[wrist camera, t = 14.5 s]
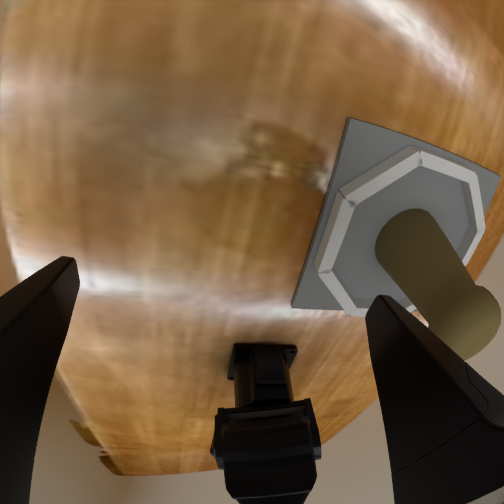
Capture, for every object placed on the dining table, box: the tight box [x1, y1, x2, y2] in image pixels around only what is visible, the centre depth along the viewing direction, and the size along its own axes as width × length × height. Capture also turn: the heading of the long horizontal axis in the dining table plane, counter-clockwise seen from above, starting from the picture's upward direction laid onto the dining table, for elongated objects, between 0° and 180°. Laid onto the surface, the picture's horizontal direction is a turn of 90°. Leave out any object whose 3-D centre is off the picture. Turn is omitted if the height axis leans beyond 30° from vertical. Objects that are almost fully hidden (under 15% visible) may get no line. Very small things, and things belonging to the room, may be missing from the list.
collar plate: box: [291, 117, 501, 316], centre depth 22 cm, size 16×16×2 cm
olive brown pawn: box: [374, 208, 501, 361], centre depth 18 cm, size 6×6×11 cm
